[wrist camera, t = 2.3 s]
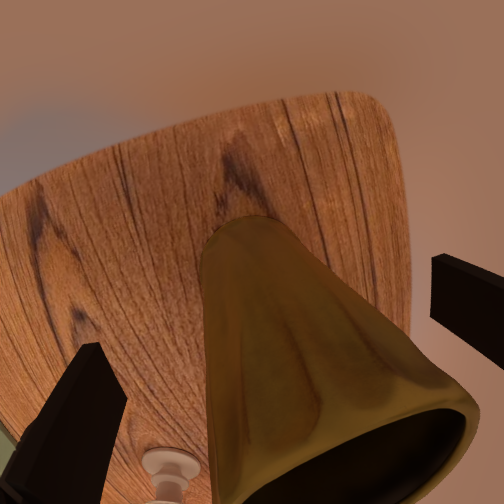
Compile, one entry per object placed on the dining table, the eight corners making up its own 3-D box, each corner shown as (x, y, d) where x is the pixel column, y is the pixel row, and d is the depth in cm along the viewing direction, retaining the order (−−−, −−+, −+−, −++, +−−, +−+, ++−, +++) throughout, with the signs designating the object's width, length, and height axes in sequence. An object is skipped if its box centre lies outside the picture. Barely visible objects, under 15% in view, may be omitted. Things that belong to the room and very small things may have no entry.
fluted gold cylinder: (211, 325, 18) (232, 567, 4) (189, 226, 16) (112, 442, 2) (309, 304, 18) (448, 494, 5) (297, 206, 17) (533, 308, 3)
